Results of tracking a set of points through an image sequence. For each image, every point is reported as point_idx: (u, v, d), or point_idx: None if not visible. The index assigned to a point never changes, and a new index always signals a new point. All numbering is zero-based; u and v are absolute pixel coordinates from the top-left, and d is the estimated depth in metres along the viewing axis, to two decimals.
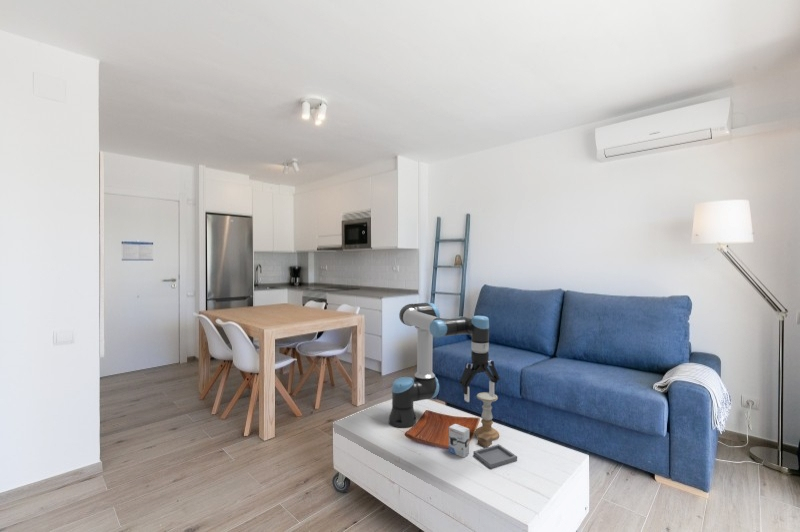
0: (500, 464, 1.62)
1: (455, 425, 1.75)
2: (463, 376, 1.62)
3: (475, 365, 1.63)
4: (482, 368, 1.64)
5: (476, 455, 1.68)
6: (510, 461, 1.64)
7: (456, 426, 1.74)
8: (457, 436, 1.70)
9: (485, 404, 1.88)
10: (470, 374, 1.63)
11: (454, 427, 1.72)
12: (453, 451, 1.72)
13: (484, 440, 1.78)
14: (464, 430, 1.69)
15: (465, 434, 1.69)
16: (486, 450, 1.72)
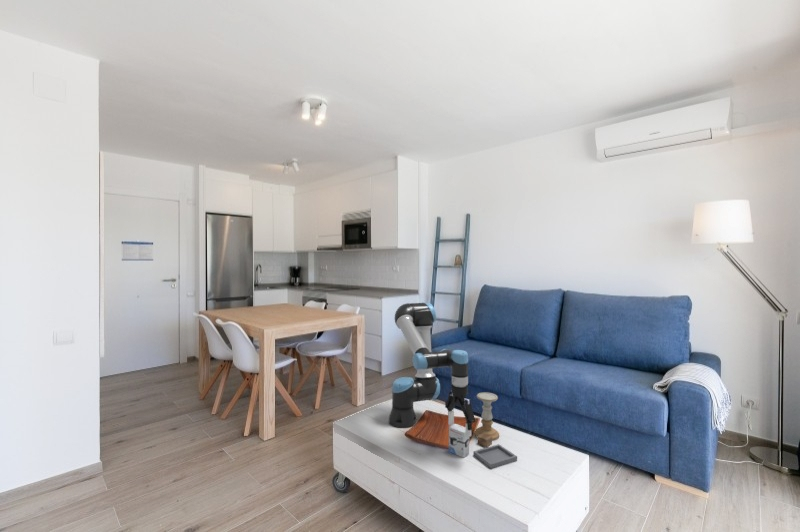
0: (500, 464, 1.62)
1: (455, 425, 1.75)
2: None
3: (453, 395, 1.74)
4: None
5: (476, 455, 1.68)
6: (510, 461, 1.64)
7: (456, 426, 1.74)
8: (457, 436, 1.70)
9: (485, 404, 1.88)
10: None
11: (454, 427, 1.72)
12: (453, 451, 1.72)
13: (484, 440, 1.78)
14: (464, 430, 1.69)
15: (465, 434, 1.69)
16: (486, 450, 1.72)
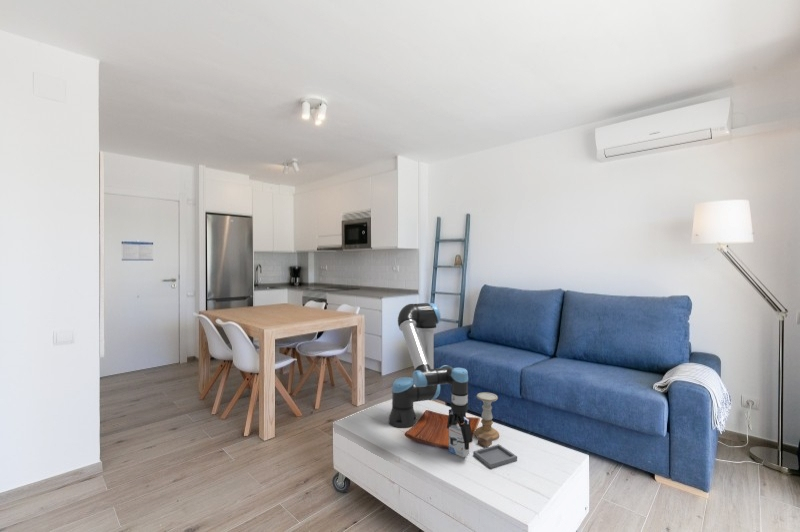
0: (500, 464, 1.62)
1: (455, 425, 1.74)
2: None
3: (453, 412, 1.74)
4: None
5: (476, 455, 1.68)
6: (510, 461, 1.64)
7: (456, 426, 1.73)
8: (457, 436, 1.70)
9: (485, 404, 1.88)
10: None
11: (454, 427, 1.72)
12: (453, 451, 1.72)
13: (484, 440, 1.78)
14: None
15: None
16: (486, 450, 1.72)
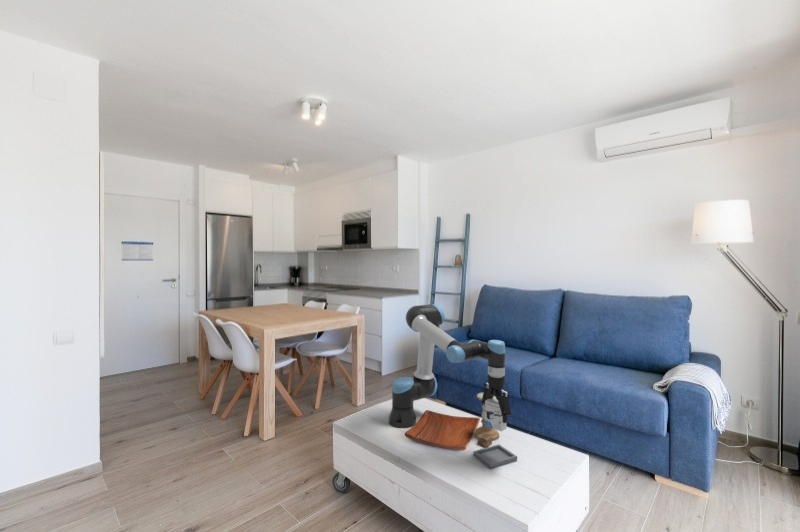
0: (500, 464, 1.62)
1: (491, 399, 1.70)
2: None
3: (489, 386, 1.69)
4: None
5: (476, 455, 1.68)
6: (510, 461, 1.64)
7: (492, 400, 1.69)
8: (494, 410, 1.65)
9: None
10: None
11: (491, 401, 1.67)
12: (490, 425, 1.67)
13: (484, 440, 1.78)
14: None
15: None
16: (486, 450, 1.72)
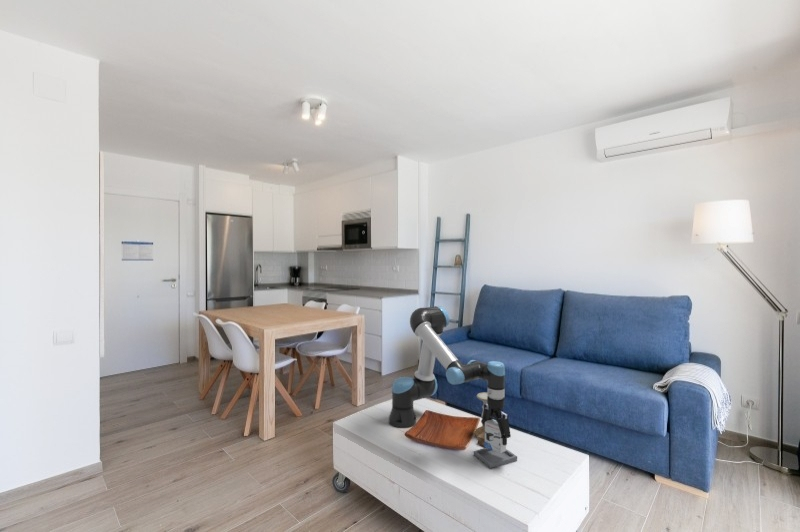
0: (500, 464, 1.62)
1: (491, 420, 1.70)
2: None
3: (489, 407, 1.70)
4: None
5: (476, 455, 1.68)
6: (510, 461, 1.64)
7: (492, 421, 1.69)
8: (493, 431, 1.65)
9: None
10: None
11: (491, 422, 1.68)
12: (489, 447, 1.67)
13: (484, 440, 1.78)
14: None
15: None
16: (486, 450, 1.72)
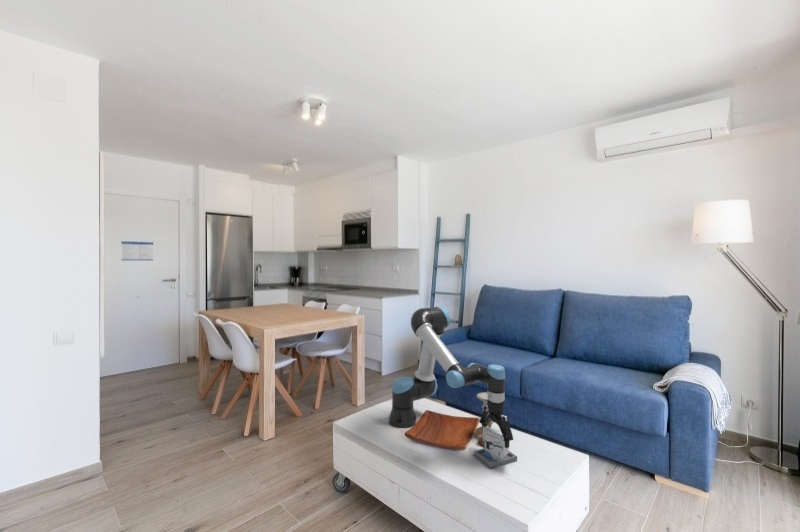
0: (500, 464, 1.62)
1: (491, 428, 1.70)
2: None
3: (489, 410, 1.70)
4: None
5: (476, 455, 1.68)
6: (510, 461, 1.64)
7: (492, 430, 1.69)
8: (493, 440, 1.65)
9: (485, 404, 1.88)
10: None
11: (491, 431, 1.68)
12: (489, 455, 1.67)
13: None
14: (501, 434, 1.65)
15: (502, 438, 1.64)
16: None
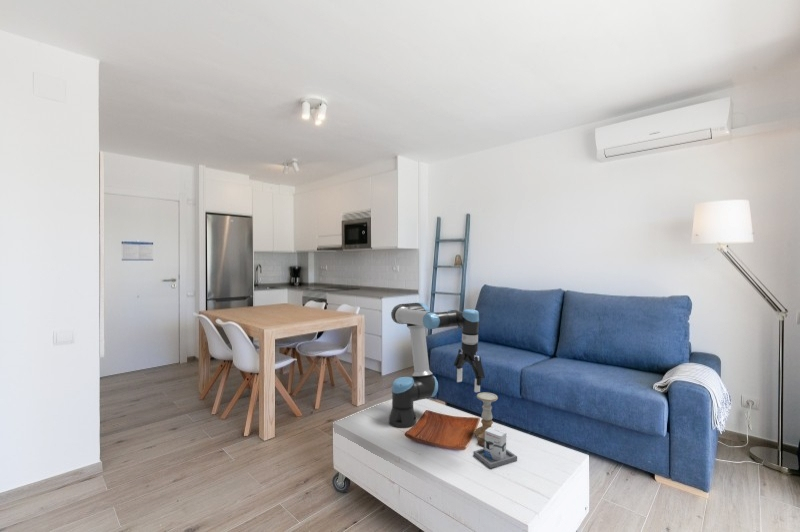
0: (500, 464, 1.62)
1: (491, 428, 1.70)
2: None
3: (463, 352, 1.78)
4: None
5: (476, 455, 1.68)
6: (510, 461, 1.64)
7: (492, 430, 1.69)
8: (493, 440, 1.65)
9: (485, 404, 1.88)
10: None
11: (491, 431, 1.68)
12: (489, 455, 1.67)
13: (484, 440, 1.78)
14: (501, 434, 1.65)
15: (502, 438, 1.64)
16: None
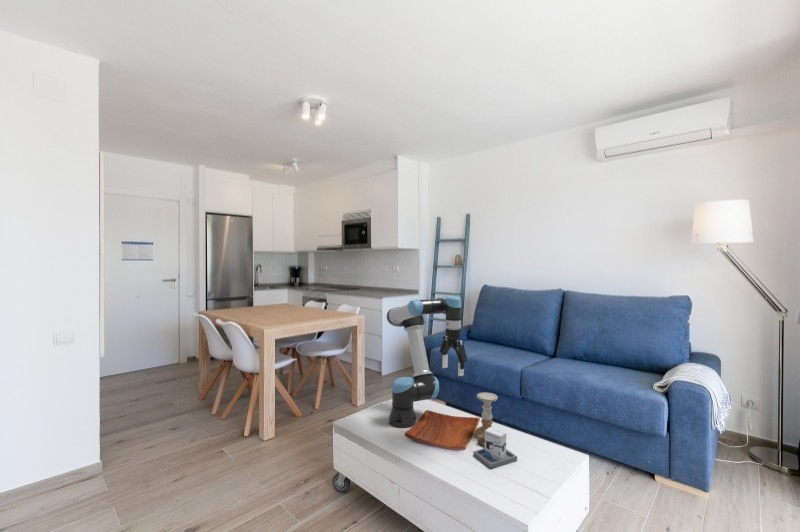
0: (500, 464, 1.62)
1: (491, 428, 1.70)
2: None
3: (447, 338, 1.84)
4: None
5: (476, 455, 1.68)
6: (510, 461, 1.64)
7: (492, 430, 1.69)
8: (493, 440, 1.65)
9: (485, 404, 1.88)
10: None
11: (491, 431, 1.68)
12: (489, 455, 1.67)
13: (484, 440, 1.78)
14: (501, 434, 1.65)
15: (502, 438, 1.64)
16: None
